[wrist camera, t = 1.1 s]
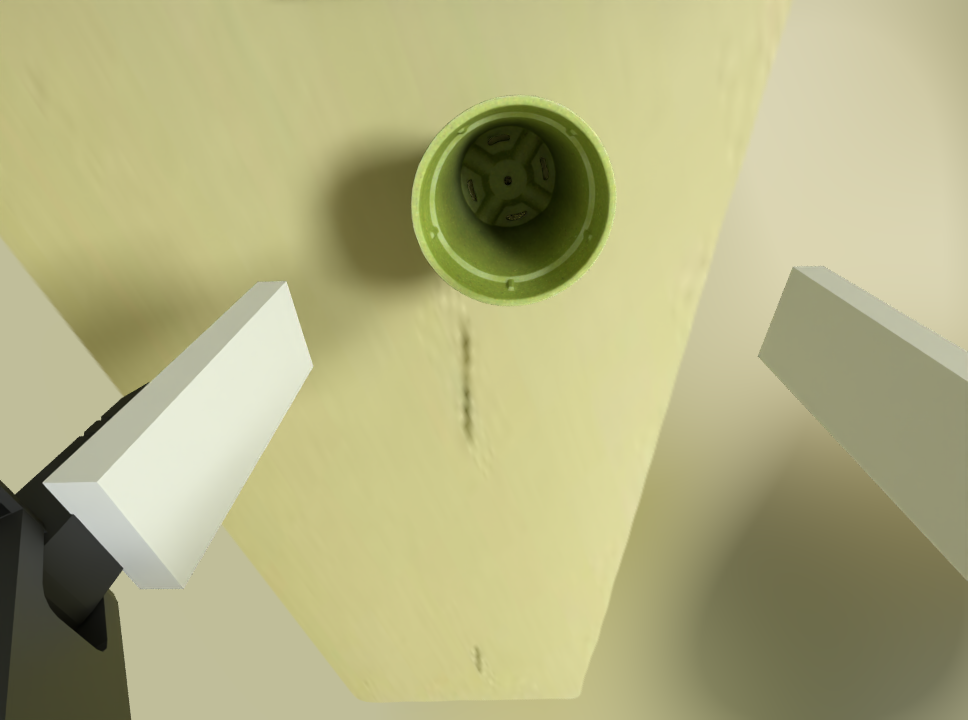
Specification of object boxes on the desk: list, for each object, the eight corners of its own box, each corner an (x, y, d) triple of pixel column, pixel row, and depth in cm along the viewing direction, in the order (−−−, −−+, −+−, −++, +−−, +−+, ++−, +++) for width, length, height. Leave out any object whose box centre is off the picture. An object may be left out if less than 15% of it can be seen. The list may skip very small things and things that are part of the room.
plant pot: (408, 122, 25) (376, 141, 18) (566, 63, 24) (598, 59, 17) (461, 266, 30) (451, 326, 23) (594, 225, 29) (629, 277, 21)
